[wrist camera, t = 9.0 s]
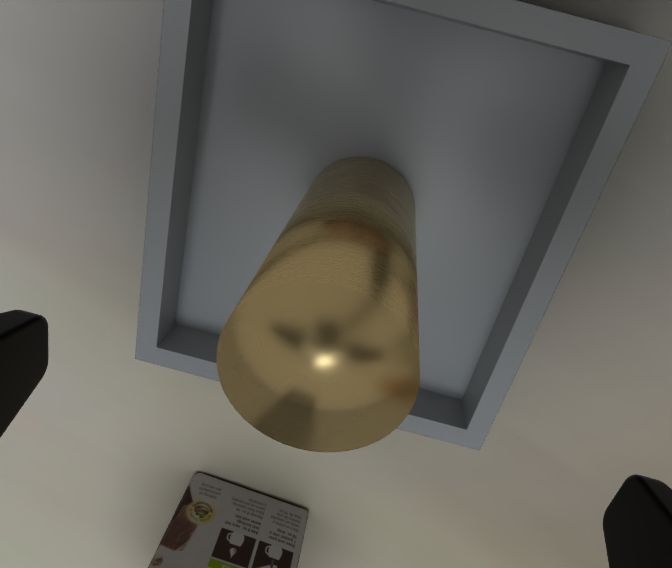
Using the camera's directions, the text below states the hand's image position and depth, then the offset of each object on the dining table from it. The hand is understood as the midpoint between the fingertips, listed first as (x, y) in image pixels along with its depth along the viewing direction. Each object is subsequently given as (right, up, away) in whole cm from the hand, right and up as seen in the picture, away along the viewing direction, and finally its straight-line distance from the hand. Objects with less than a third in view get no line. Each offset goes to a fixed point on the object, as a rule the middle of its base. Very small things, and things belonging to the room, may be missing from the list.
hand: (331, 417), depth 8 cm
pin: (+1, +5, +11) cm, 12 cm away
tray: (+1, +5, +12) cm, 13 cm away
